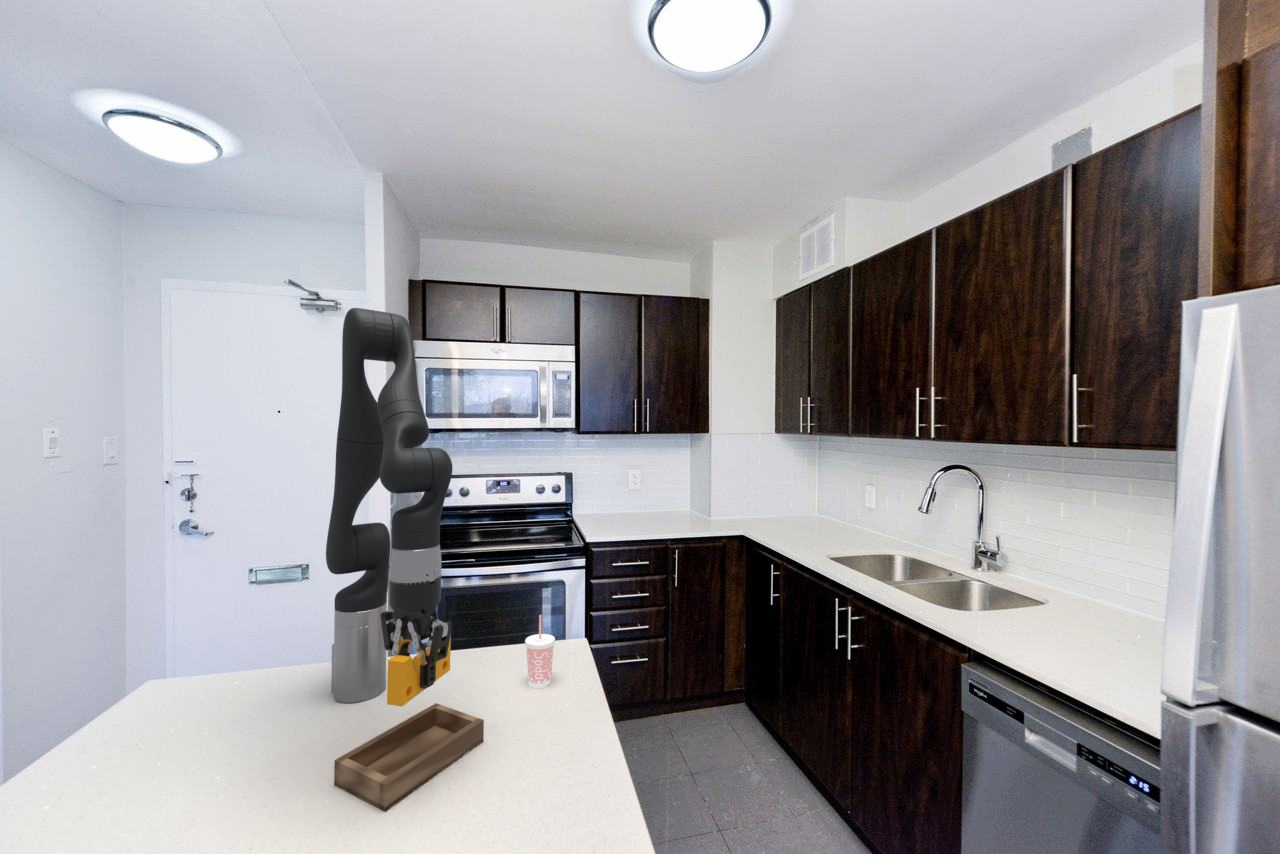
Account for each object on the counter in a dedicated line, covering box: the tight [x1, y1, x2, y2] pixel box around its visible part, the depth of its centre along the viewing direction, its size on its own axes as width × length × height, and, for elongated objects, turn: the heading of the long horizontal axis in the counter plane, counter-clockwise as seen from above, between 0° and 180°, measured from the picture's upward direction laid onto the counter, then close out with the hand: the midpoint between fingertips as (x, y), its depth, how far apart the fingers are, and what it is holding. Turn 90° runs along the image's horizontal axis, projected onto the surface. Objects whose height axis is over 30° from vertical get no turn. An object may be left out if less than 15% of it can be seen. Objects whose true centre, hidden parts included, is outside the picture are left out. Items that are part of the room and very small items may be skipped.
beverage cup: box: [524, 614, 556, 689], centre depth 108 cm, size 6×6×14 cm
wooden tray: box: [333, 702, 485, 812], centre depth 82 cm, size 11×18×4 cm, turn 152°
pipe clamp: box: [386, 634, 452, 708], centre depth 83 cm, size 12×4×6 cm, turn 167°
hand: (414, 681), depth 82 cm, fingers closed on pipe clamp, 5 cm apart
